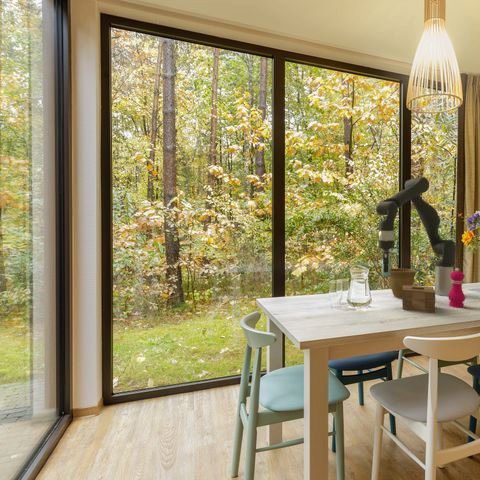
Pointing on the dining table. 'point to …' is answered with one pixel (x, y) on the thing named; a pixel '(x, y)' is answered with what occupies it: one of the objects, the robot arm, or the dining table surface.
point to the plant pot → (400, 280)
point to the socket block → (418, 298)
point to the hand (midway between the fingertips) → (386, 271)
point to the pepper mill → (456, 289)
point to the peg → (385, 274)
